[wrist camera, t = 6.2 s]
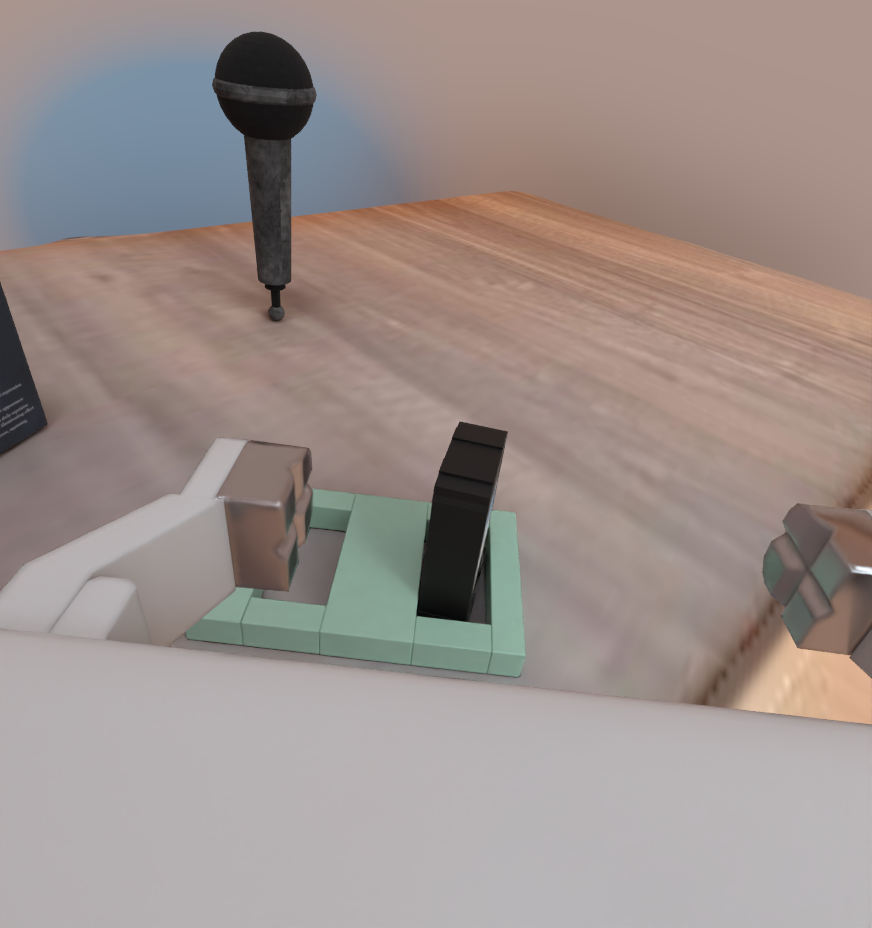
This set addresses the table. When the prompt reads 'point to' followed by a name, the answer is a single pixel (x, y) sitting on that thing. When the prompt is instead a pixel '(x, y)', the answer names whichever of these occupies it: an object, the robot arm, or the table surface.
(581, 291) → the table surface
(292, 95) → the microphone
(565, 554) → the table surface
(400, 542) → the holder
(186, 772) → the robot arm
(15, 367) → the box
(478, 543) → the ink cartridge
